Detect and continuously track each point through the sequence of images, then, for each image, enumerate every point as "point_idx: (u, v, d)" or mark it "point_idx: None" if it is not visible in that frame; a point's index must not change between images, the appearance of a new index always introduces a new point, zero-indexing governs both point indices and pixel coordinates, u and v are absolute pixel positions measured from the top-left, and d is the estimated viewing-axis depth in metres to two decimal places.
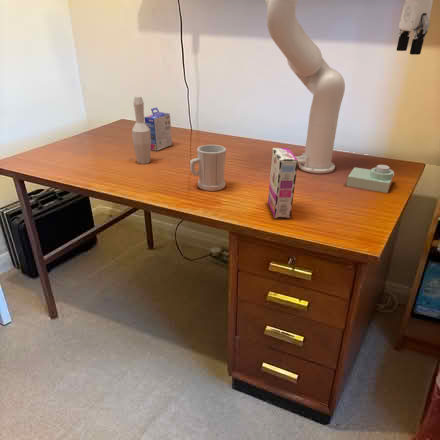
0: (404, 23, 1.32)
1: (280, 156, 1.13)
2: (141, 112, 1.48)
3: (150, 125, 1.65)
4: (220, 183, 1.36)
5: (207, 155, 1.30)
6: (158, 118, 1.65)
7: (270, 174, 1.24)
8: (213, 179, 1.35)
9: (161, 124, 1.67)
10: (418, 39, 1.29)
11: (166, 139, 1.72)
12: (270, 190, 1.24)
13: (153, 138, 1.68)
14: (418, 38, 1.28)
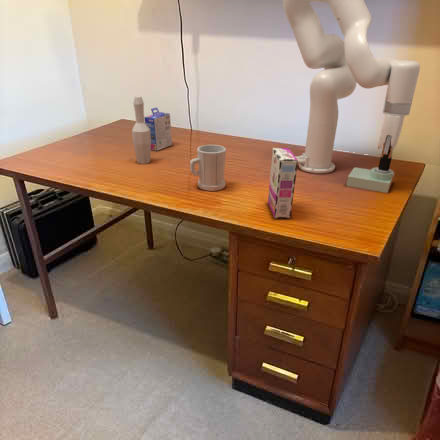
0: None
1: (280, 156, 1.13)
2: (141, 112, 1.48)
3: (150, 125, 1.65)
4: (220, 183, 1.36)
5: (207, 155, 1.30)
6: (158, 118, 1.65)
7: (270, 174, 1.24)
8: (213, 179, 1.35)
9: (161, 124, 1.67)
10: (384, 158, 1.35)
11: (166, 139, 1.72)
12: (270, 190, 1.24)
13: (153, 138, 1.68)
14: (383, 157, 1.35)
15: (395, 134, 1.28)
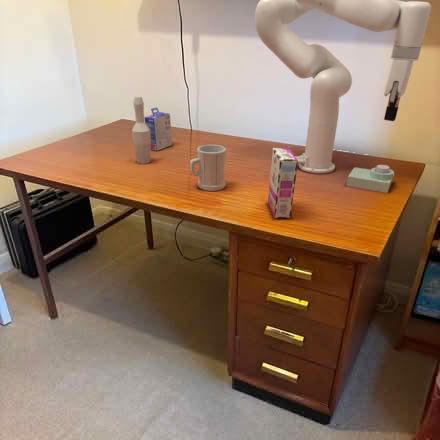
0: None
1: (280, 156, 1.13)
2: (141, 112, 1.48)
3: (150, 125, 1.65)
4: (220, 183, 1.36)
5: (207, 155, 1.30)
6: (158, 118, 1.65)
7: (270, 174, 1.24)
8: (213, 179, 1.35)
9: (161, 124, 1.67)
10: (390, 107, 1.32)
11: (166, 139, 1.72)
12: (270, 190, 1.24)
13: (153, 138, 1.68)
14: (390, 106, 1.32)
15: (402, 80, 1.24)
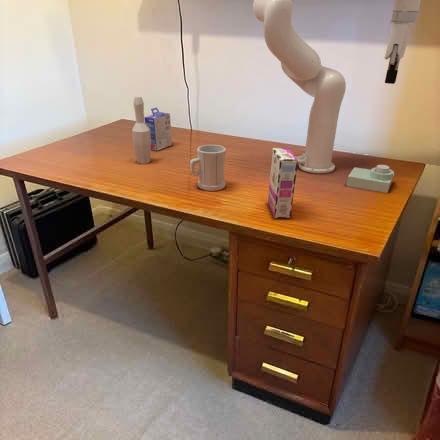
0: None
1: (280, 156, 1.13)
2: (141, 112, 1.48)
3: (150, 125, 1.65)
4: (220, 183, 1.36)
5: (207, 155, 1.30)
6: (158, 118, 1.65)
7: (270, 174, 1.24)
8: (213, 179, 1.35)
9: (161, 124, 1.67)
10: (390, 70, 1.41)
11: (166, 139, 1.72)
12: (270, 190, 1.24)
13: (153, 138, 1.68)
14: (390, 69, 1.41)
15: (402, 42, 1.34)
